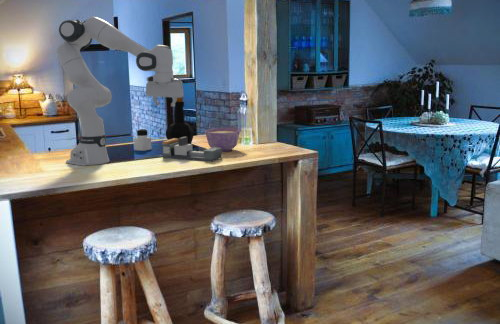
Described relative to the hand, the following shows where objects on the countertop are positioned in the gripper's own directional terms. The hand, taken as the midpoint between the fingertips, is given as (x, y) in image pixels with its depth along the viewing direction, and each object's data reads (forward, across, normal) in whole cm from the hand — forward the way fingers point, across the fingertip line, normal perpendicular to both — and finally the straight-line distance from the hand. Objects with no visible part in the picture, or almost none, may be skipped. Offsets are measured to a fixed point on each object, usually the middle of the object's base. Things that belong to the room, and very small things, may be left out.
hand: (165, 106), depth 249 cm
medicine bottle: (+30, +32, -25) cm, 50 cm away
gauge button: (+21, +5, -13) cm, 25 cm away
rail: (+28, -8, -12) cm, 32 cm away
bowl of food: (+28, -15, -37) cm, 49 cm away
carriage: (+27, -3, -12) cm, 30 cm away
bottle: (+30, +17, -44) cm, 56 cm away
